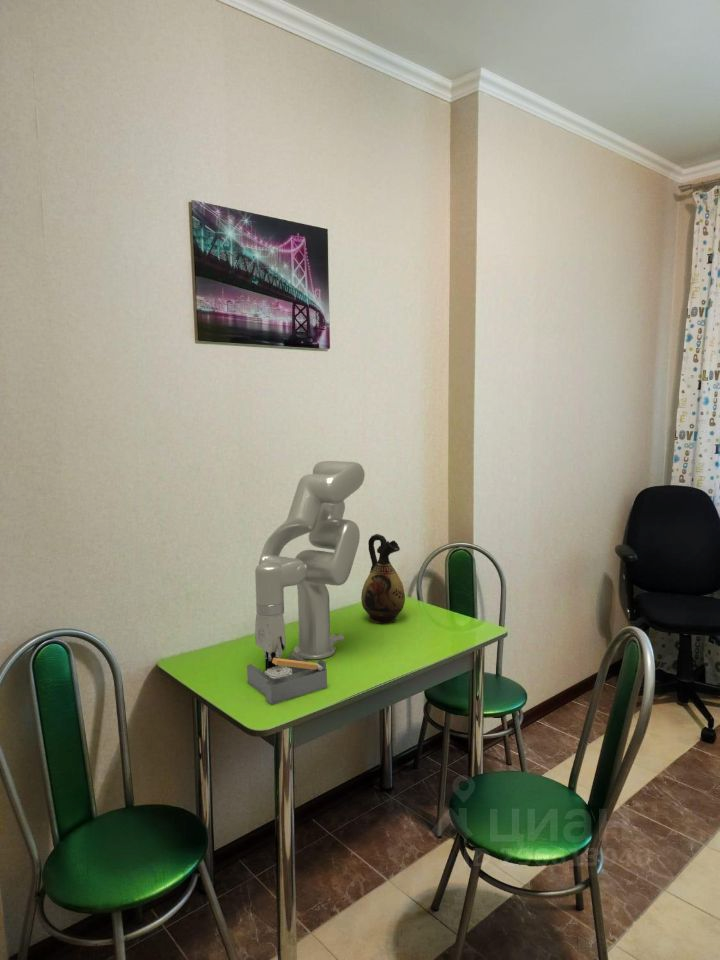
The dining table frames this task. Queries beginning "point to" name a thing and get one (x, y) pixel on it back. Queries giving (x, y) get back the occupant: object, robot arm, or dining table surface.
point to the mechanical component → (278, 672)
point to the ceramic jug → (382, 584)
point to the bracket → (288, 681)
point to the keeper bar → (296, 664)
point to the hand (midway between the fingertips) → (272, 672)
